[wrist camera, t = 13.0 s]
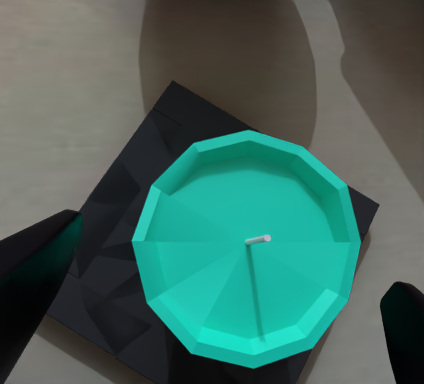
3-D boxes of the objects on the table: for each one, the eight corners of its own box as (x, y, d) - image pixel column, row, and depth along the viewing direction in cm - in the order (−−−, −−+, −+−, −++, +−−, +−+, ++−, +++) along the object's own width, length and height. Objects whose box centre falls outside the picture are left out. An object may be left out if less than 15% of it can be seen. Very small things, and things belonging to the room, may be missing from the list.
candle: (229, 180, 19) (306, 64, 8) (281, 268, 19) (457, 290, 7) (139, 230, 18) (67, 182, 6) (191, 326, 17) (215, 468, 6)
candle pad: (257, 434, 17) (264, 451, 15) (30, 293, 17) (16, 296, 16) (365, 208, 20) (380, 204, 18) (172, 91, 20) (172, 79, 19)
